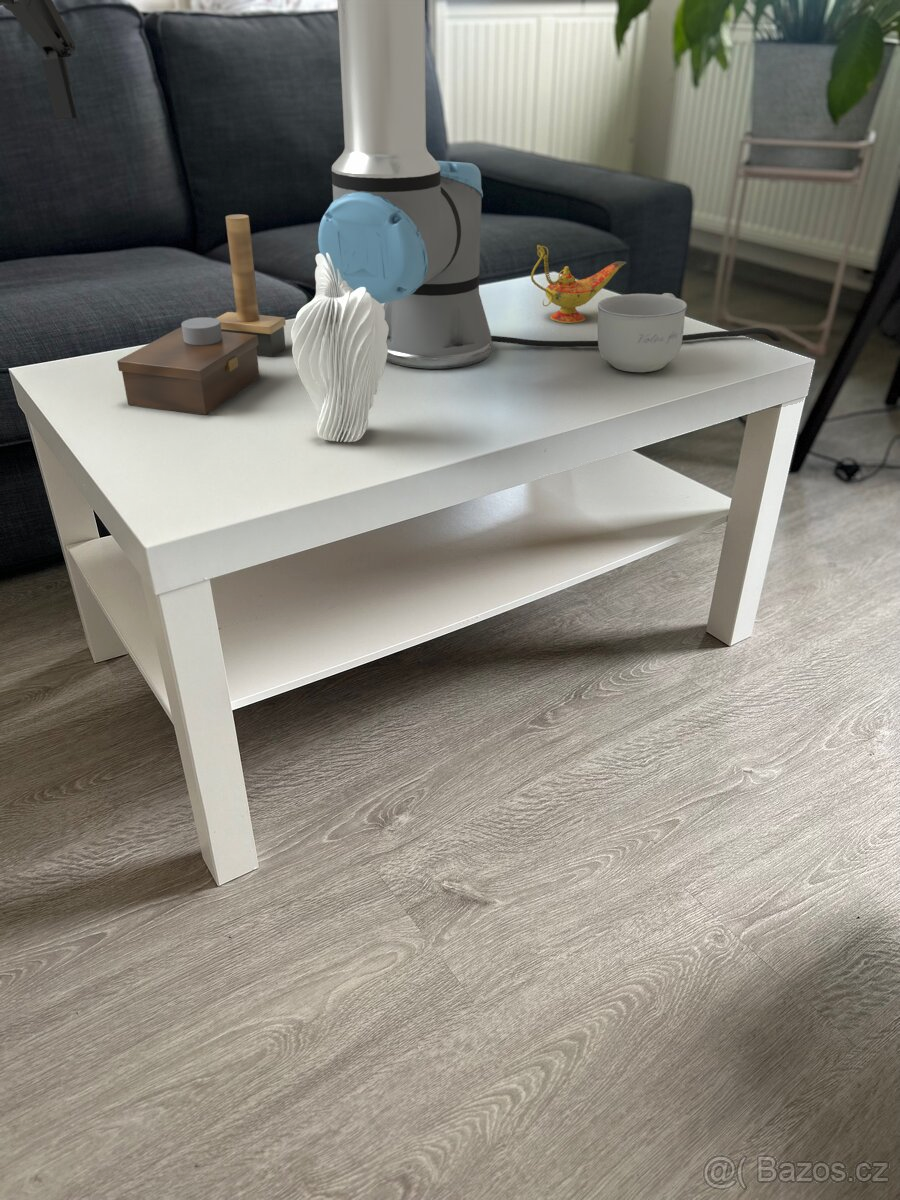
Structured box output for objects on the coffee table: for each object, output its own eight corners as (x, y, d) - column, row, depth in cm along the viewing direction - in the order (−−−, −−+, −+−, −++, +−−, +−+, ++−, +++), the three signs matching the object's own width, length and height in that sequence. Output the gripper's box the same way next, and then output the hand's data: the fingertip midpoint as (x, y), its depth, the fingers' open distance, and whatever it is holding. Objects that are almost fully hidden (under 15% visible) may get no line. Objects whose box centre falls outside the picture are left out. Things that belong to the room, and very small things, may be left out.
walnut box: (263, 377, 113) (259, 335, 111) (208, 416, 103) (202, 370, 100) (186, 368, 116) (180, 326, 113) (125, 405, 105) (116, 360, 102)
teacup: (641, 386, 112) (649, 319, 108) (574, 363, 119) (580, 299, 114) (710, 362, 120) (720, 299, 115) (643, 342, 126) (651, 281, 122)
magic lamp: (636, 312, 138) (645, 234, 133) (543, 331, 130) (549, 249, 124) (605, 301, 143) (612, 226, 137) (513, 320, 135) (517, 240, 129)
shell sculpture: (375, 454, 94) (368, 272, 85) (297, 448, 95) (281, 267, 86) (393, 424, 101) (389, 252, 91) (320, 418, 102) (308, 248, 93)
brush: (287, 347, 123) (276, 215, 114) (273, 357, 120) (259, 222, 111) (231, 341, 125) (215, 211, 116) (214, 351, 122) (197, 217, 113)
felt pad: (229, 336, 110) (227, 319, 109) (210, 347, 107) (208, 329, 105) (196, 332, 111) (193, 315, 110) (176, 343, 108) (174, 326, 107)
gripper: (26, -83, 111) (73, 116, 122) (-157, -106, 91) (-81, 134, 102) (75, -90, 109) (119, 113, 119) (-102, -115, 89) (-30, 131, 100)
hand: (27, 123), depth 111 cm, fingers open, 13 cm apart
